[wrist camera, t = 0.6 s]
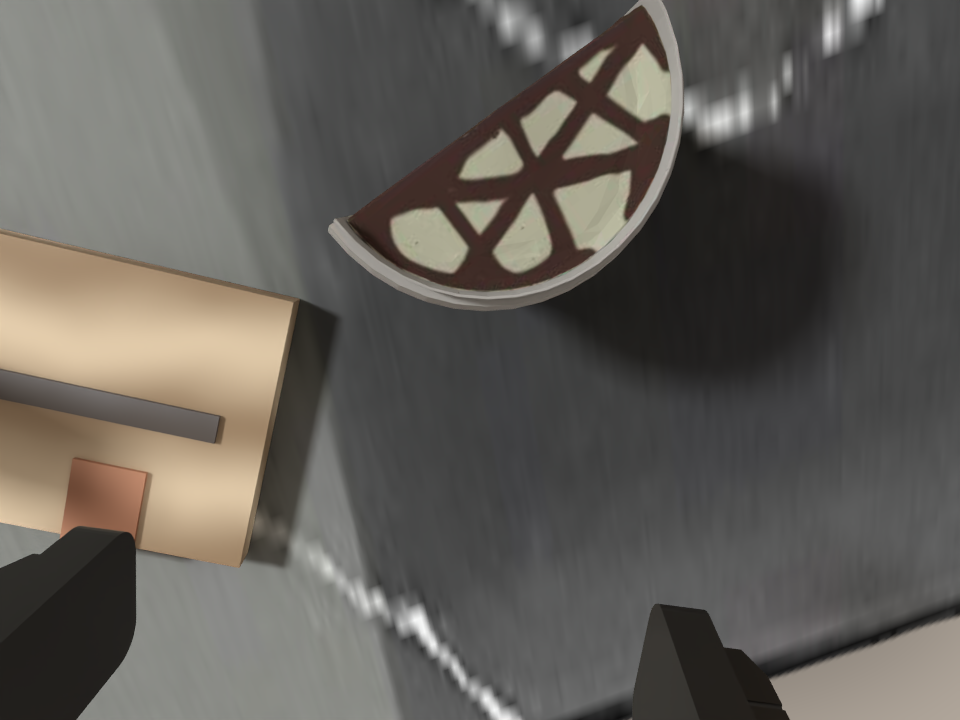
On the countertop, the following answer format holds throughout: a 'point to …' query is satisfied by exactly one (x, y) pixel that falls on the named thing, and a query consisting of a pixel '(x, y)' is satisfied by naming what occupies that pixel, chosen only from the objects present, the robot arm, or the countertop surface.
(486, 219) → the food container
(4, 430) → the fader board
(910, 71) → the countertop surface
